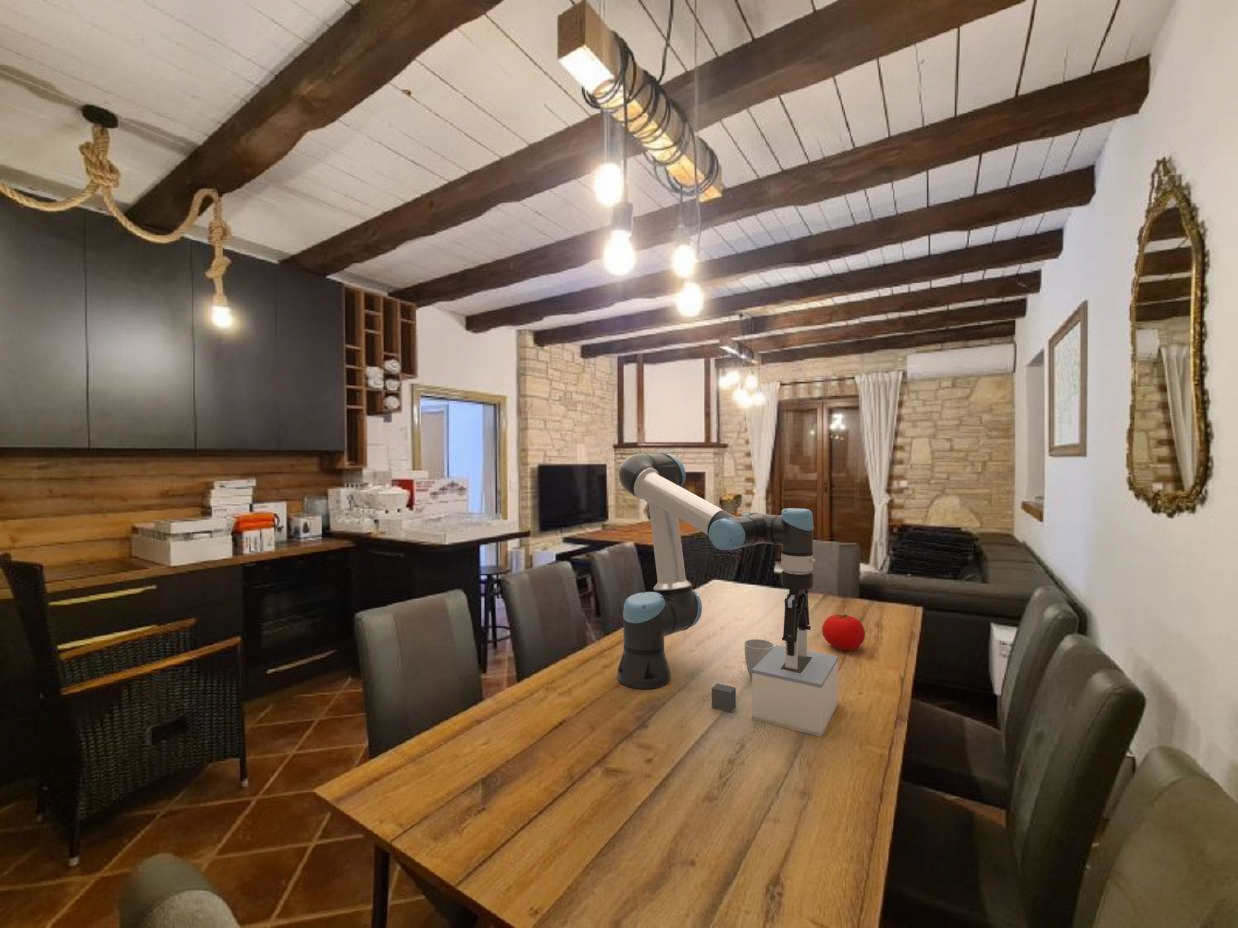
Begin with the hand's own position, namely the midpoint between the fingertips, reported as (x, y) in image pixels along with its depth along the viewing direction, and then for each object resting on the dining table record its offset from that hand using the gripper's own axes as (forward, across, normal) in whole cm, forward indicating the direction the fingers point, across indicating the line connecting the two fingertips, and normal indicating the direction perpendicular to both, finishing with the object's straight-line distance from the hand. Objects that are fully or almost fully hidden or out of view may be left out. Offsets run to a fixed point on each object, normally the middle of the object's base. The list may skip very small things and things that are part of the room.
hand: (796, 661), depth 135 cm
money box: (+12, 0, 0) cm, 12 cm away
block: (+12, -8, +16) cm, 22 cm away
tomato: (+13, +53, -2) cm, 55 cm away
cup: (+13, +14, +14) cm, 23 cm away
